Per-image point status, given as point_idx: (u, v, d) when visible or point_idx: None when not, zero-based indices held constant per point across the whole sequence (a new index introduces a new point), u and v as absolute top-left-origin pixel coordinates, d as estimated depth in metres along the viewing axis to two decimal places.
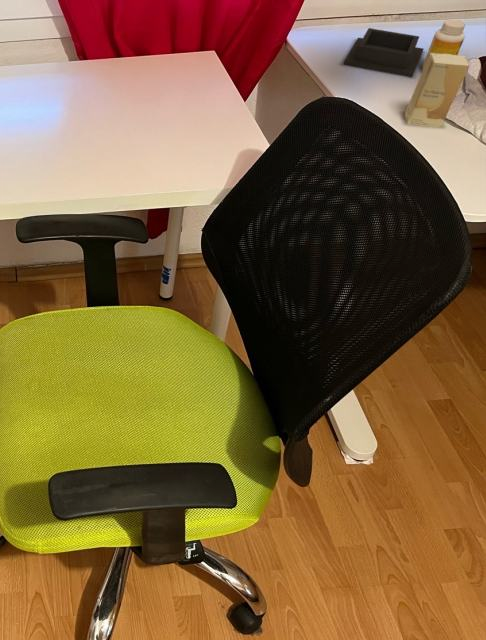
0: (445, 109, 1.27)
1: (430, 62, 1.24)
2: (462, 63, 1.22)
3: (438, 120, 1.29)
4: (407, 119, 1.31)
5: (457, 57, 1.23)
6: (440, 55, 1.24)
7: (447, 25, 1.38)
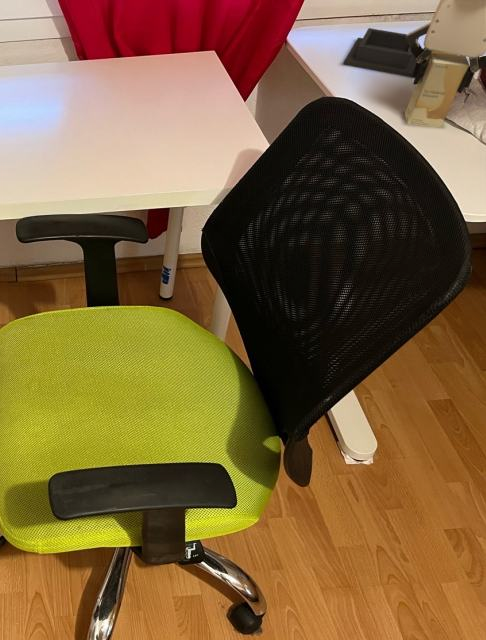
0: (445, 109, 1.27)
1: (430, 62, 1.24)
2: (461, 63, 1.22)
3: (438, 120, 1.29)
4: (407, 119, 1.31)
5: (457, 57, 1.23)
6: (440, 55, 1.24)
7: None
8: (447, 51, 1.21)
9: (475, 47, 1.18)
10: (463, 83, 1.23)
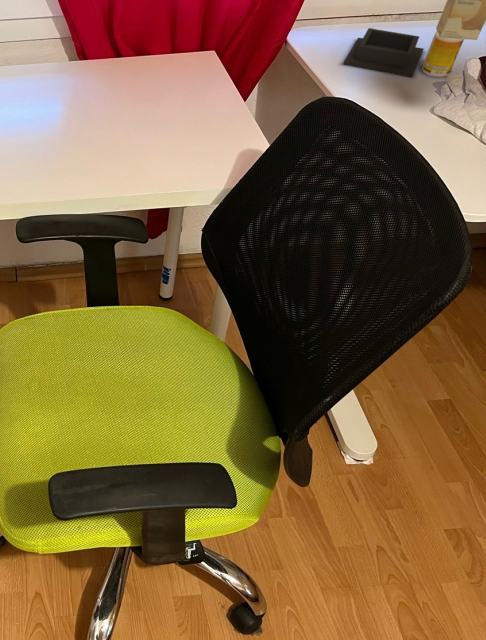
0: (482, 18, 1.17)
1: None
2: None
3: (474, 31, 1.18)
4: (439, 32, 1.20)
5: None
6: None
7: None
8: None
9: None
10: None
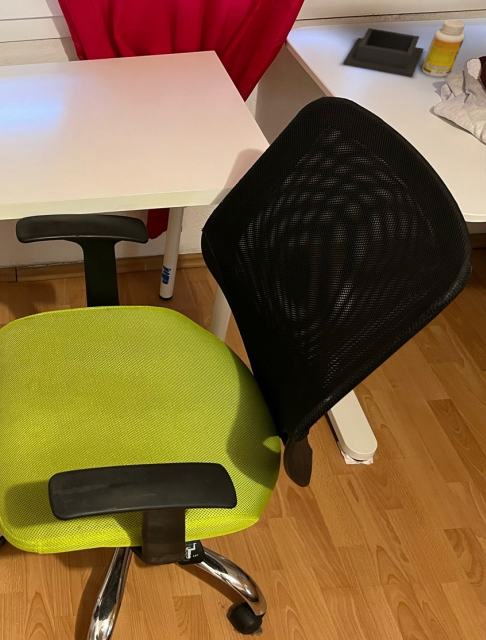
0: None
1: None
2: None
3: None
4: None
5: None
6: None
7: (447, 25, 1.38)
8: None
9: None
10: None
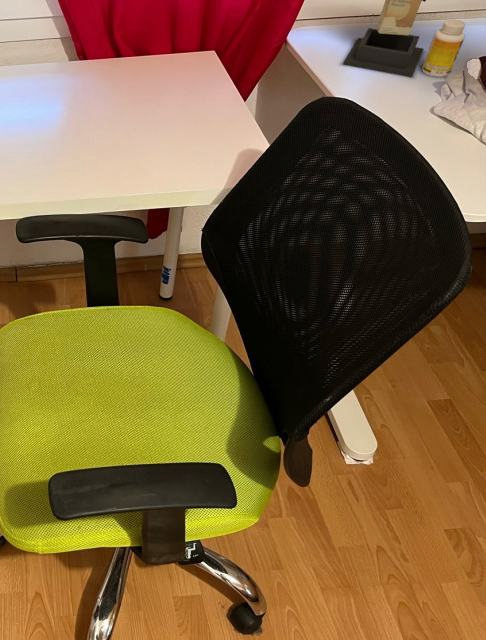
0: (412, 17, 1.42)
1: None
2: None
3: (406, 28, 1.43)
4: (378, 29, 1.46)
5: None
6: None
7: (447, 25, 1.38)
8: None
9: None
10: None
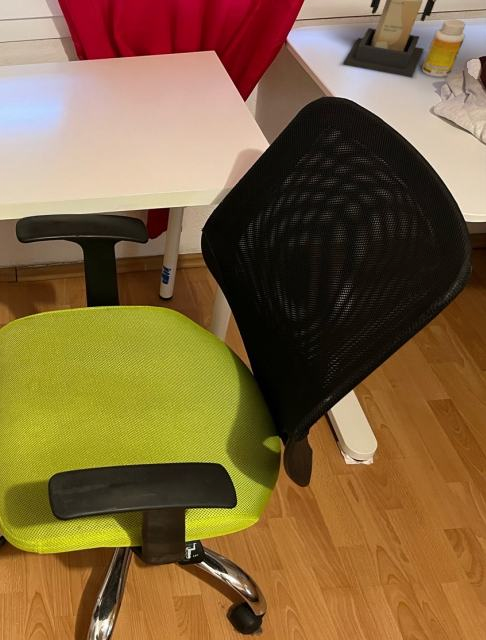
0: (403, 42, 1.45)
1: None
2: None
3: None
4: None
5: None
6: None
7: (447, 25, 1.38)
8: None
9: None
10: (425, 11, 1.40)
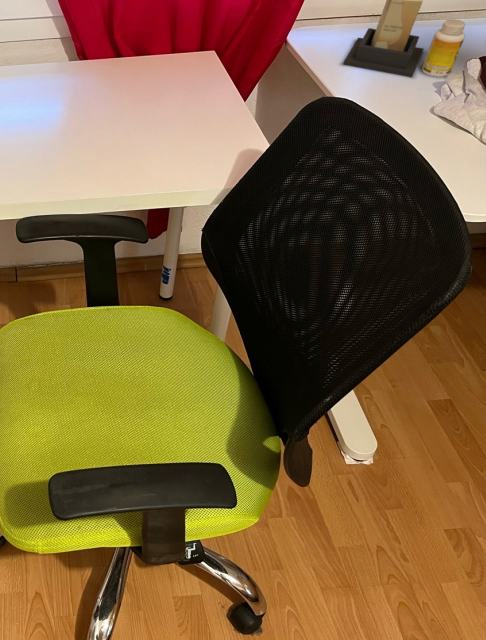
0: (403, 42, 1.45)
1: None
2: None
3: None
4: None
5: None
6: None
7: (447, 25, 1.38)
8: None
9: None
10: None
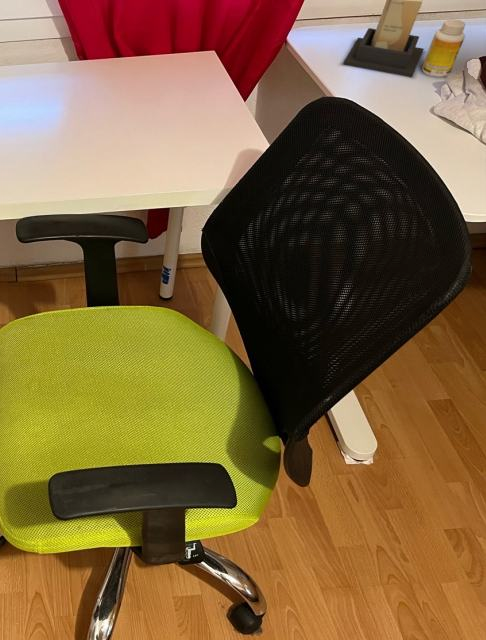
0: (403, 42, 1.45)
1: None
2: None
3: None
4: None
5: None
6: None
7: (447, 25, 1.38)
8: None
9: None
10: None
